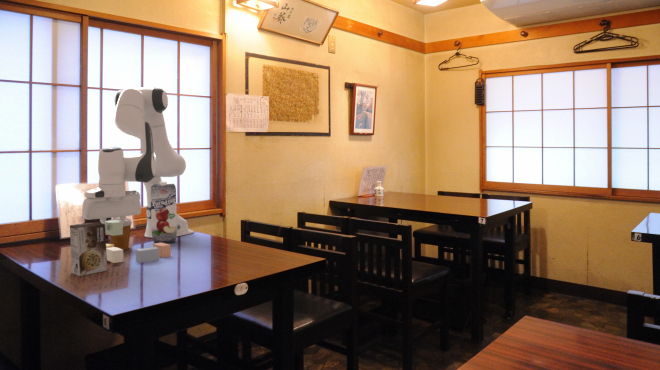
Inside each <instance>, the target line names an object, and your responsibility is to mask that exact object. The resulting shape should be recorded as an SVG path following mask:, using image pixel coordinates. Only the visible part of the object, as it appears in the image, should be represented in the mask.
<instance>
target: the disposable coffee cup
mask: <svg viewBox="0 0 660 370" xmlns="http://www.w3.org/2000/svg"><path fill="white" fill-rule="evenodd" d="M113 220H114V221H119V222H120V220H121V219H120V218H112V219H108V220H107V221H113ZM132 224H133V221H132V219H130V218H126V220H125V222H124V223H123V235H115V236H112V235H109V242H110V244H113V245H114V247H117V248H120V249H123V251H125V250H128V249H129V248H130V247H129V246H130V237H131V225H132Z"/></svg>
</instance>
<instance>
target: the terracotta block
mask: <svg viewBox="0 0 660 370" xmlns="http://www.w3.org/2000/svg"><path fill="white" fill-rule="evenodd" d="M152 247H156V248H159V258H167V257H172V252H171V251H172V250H171V249H172V248H171V244H170V243H152Z"/></svg>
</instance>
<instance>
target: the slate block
mask: <svg viewBox="0 0 660 370" xmlns="http://www.w3.org/2000/svg"><path fill="white" fill-rule="evenodd" d="M135 260H136V261H135V262H137V263H139V264H141V263H142V264H143V263H149V262H155V261H159V260H160V257H159V248H156V247H153V246H152V247H147V248H146V247H145V248H143V247H142V248H138V249H135Z"/></svg>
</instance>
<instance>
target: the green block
mask: <svg viewBox="0 0 660 370" xmlns="http://www.w3.org/2000/svg"><path fill="white" fill-rule="evenodd" d="M105 223H106V224H107V225H110V227H109V228H110V230H106V231H105V234H106V235H107V236H108V235H109V236H110V235H112V236H115V235H123V224H122V222H119V221H114V220H113V221H108V220H106V221H105Z"/></svg>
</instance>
